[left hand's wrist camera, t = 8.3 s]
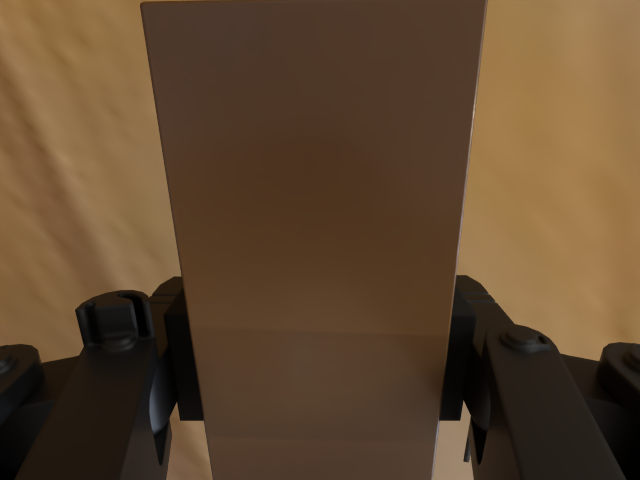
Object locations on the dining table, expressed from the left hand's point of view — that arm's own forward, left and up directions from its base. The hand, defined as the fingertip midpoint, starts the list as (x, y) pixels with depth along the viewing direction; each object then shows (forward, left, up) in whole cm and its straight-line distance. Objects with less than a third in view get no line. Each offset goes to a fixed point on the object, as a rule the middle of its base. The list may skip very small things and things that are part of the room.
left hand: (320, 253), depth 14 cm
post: (+9, -29, -1) cm, 30 cm away
